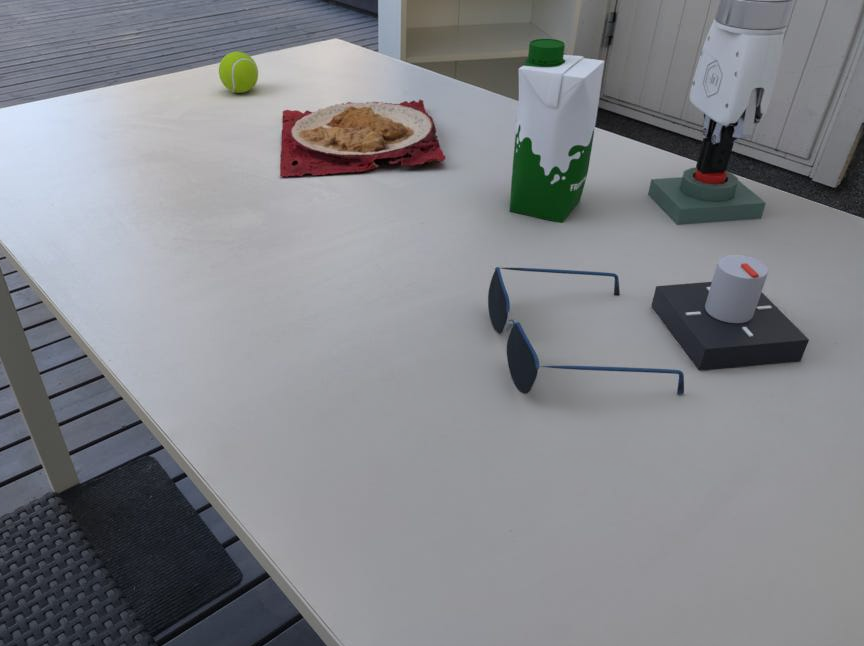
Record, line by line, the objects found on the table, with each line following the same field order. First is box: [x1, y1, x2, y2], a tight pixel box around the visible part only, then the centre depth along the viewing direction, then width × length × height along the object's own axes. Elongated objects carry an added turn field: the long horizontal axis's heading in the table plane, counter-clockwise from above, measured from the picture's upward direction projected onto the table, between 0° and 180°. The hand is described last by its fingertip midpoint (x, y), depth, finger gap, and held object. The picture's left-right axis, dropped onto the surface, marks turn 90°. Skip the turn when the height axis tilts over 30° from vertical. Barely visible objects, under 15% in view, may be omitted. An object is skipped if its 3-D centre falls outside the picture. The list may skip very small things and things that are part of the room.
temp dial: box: [705, 254, 769, 323], centre depth 70 cm, size 4×4×5 cm
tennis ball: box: [218, 51, 259, 94], centre depth 134 cm, size 7×7×7 cm
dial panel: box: [650, 281, 810, 371], centre depth 73 cm, size 10×11×3 cm
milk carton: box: [509, 38, 606, 224], centre depth 91 cm, size 9×9×20 cm
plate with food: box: [279, 99, 447, 178], centre depth 115 cm, size 24×26×3 cm
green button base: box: [647, 167, 767, 226], centre depth 95 cm, size 11×9×4 cm
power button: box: [695, 169, 728, 184], centre depth 94 cm, size 4×4×2 cm
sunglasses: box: [487, 266, 685, 395], centre depth 71 cm, size 17×15×5 cm
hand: (710, 170), depth 93 cm, fingers closed
